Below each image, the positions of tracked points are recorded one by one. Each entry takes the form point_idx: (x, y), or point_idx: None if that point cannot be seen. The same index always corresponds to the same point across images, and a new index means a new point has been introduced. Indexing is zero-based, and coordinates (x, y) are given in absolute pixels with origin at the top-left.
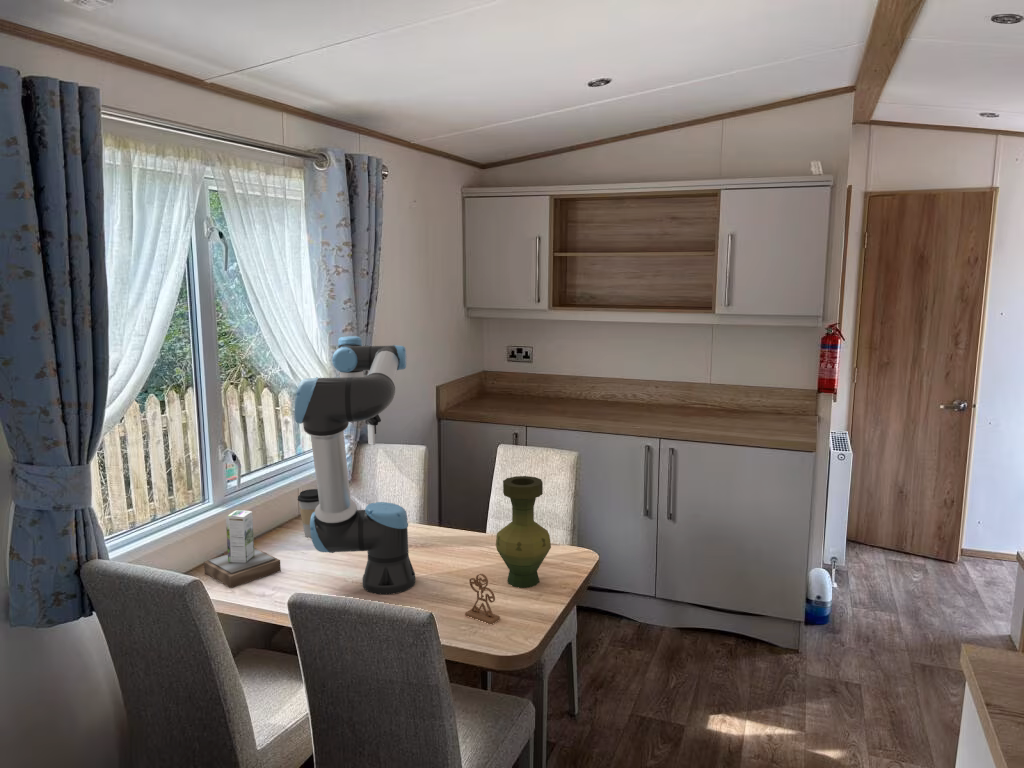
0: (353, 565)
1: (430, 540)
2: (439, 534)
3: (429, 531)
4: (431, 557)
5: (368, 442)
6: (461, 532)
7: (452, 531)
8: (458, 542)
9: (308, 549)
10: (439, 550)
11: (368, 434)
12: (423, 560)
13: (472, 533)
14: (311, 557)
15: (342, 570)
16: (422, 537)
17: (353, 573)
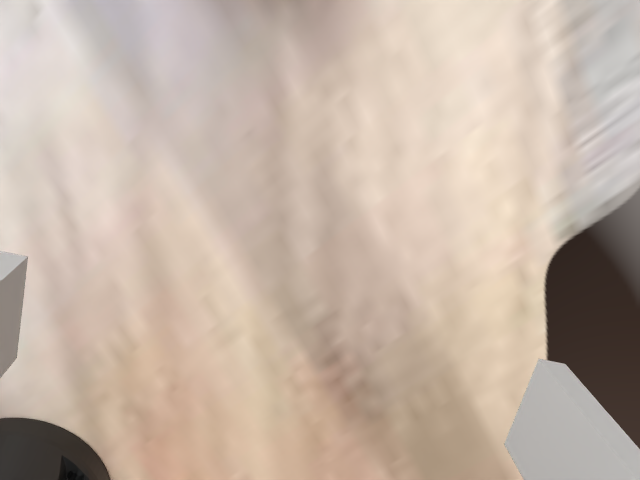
0: (63, 300)
1: (410, 388)
2: (478, 381)
3: (493, 332)
4: (274, 475)
5: (544, 372)
6: None
7: None
8: (434, 474)
9: (74, 7)
10: (340, 463)
11: (595, 450)
12: (238, 469)
13: None
14: (17, 92)
15: None
16: (424, 346)
17: None
